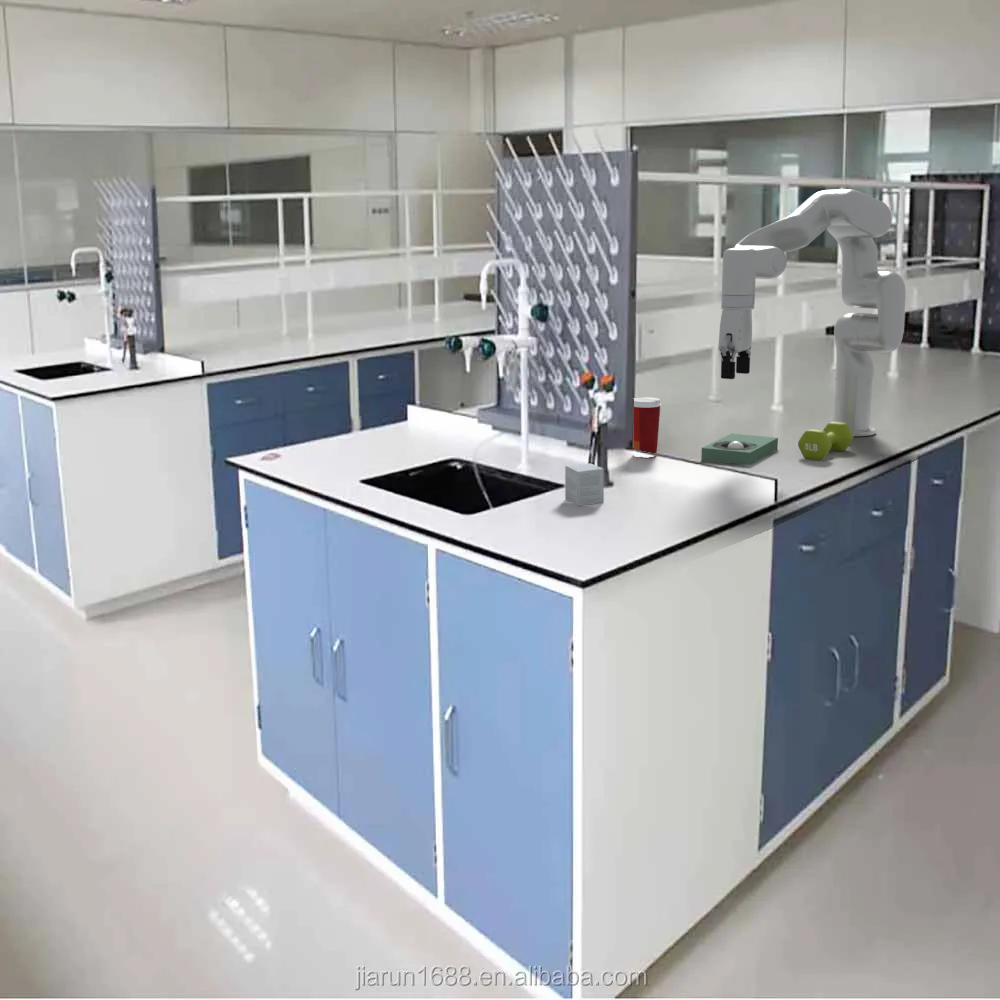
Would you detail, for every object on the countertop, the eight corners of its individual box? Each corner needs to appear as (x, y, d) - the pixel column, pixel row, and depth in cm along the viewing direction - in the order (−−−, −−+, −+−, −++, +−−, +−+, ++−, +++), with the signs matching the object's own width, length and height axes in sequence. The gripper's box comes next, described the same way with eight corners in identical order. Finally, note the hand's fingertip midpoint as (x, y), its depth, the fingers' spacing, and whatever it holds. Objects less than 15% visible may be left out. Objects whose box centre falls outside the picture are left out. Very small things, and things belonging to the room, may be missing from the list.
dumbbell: (824, 447, 267) (826, 419, 265) (855, 451, 262) (857, 422, 260) (794, 458, 255) (796, 429, 254) (825, 463, 250) (827, 433, 248)
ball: (726, 460, 258) (731, 450, 260) (741, 461, 256) (747, 451, 258) (723, 446, 255) (729, 437, 258) (739, 448, 253) (745, 438, 256)
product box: (590, 496, 223) (591, 462, 221) (604, 503, 218) (604, 468, 216) (564, 499, 221) (564, 465, 219) (577, 506, 216) (577, 471, 214)
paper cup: (665, 454, 262) (667, 398, 258) (652, 460, 256) (653, 402, 252) (637, 451, 266) (638, 396, 262) (623, 457, 260) (623, 400, 256)
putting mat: (731, 445, 271) (731, 433, 271) (777, 449, 265) (778, 437, 264) (701, 460, 255) (701, 447, 254) (749, 465, 249) (750, 452, 248)
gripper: (735, 299, 255) (733, 370, 260) (708, 305, 241) (706, 379, 246) (766, 300, 251) (763, 372, 256) (740, 305, 237) (737, 381, 242)
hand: (735, 375), depth 251 cm, fingers open, 9 cm apart
